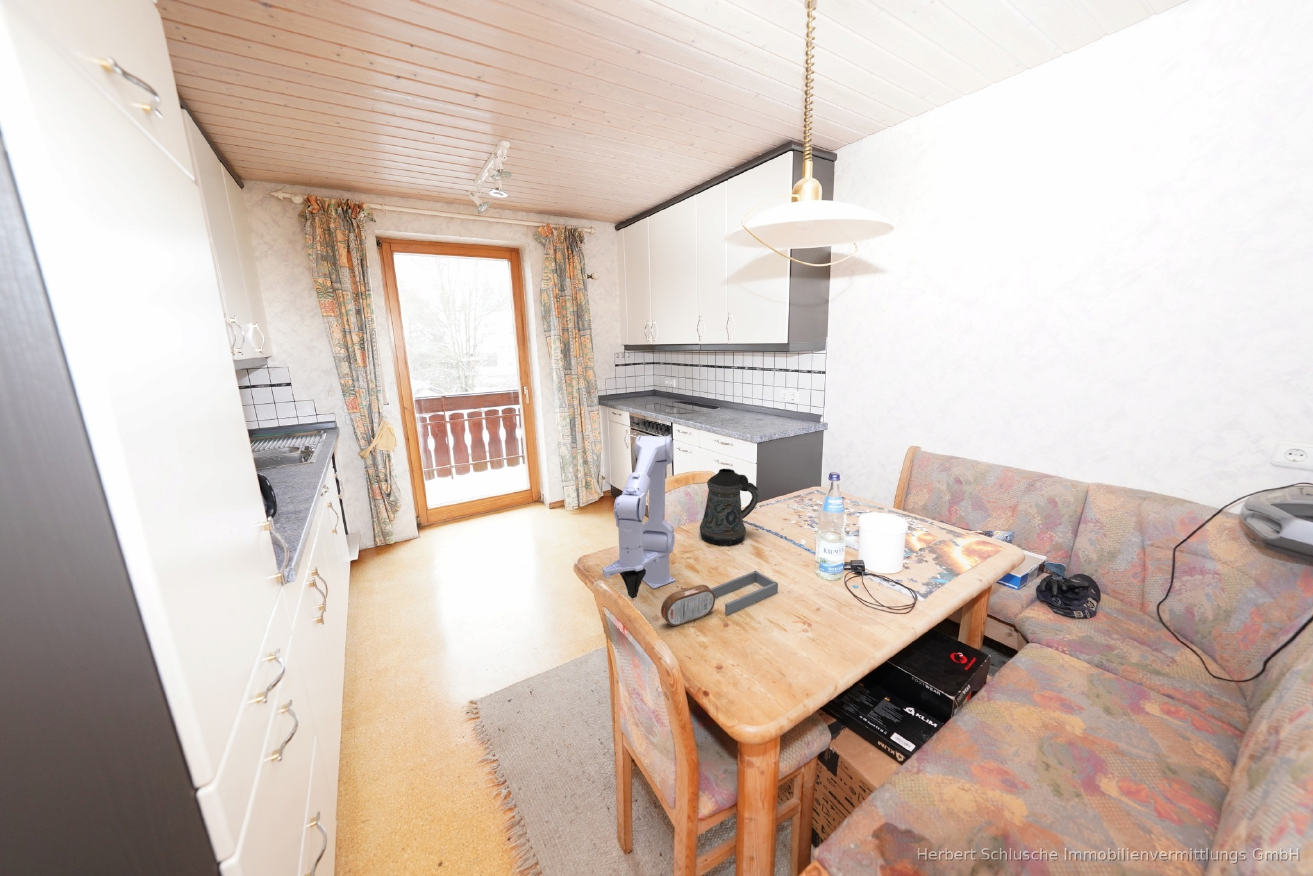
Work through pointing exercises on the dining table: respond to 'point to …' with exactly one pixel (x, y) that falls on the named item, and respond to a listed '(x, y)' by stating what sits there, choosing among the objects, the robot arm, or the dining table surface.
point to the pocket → (749, 599)
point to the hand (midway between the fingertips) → (632, 596)
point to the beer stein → (726, 508)
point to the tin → (688, 605)
